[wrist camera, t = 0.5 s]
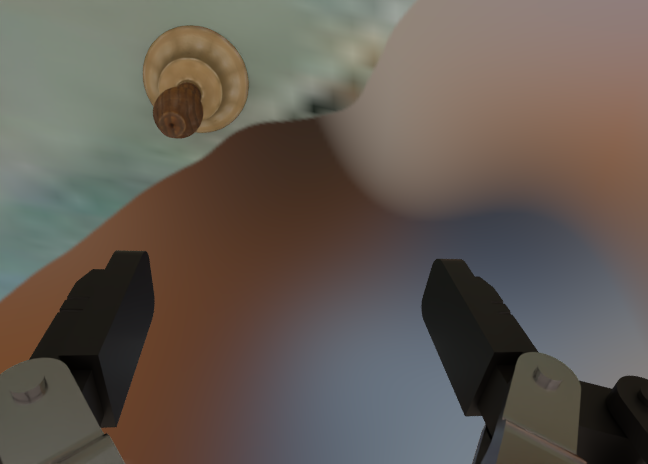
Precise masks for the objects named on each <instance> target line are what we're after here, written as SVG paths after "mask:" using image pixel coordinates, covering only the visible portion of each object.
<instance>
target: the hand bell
mask: <svg viewBox="0 0 648 464" xmlns="http://www.w3.org/2000/svg"><path fill="white" fill-rule="evenodd" d="M143 82H144V87H145V90H146V93H147V95H148V98H149V99H150V101H151V103H152V105H153V106H154V108H153V117H154V120H155V123H156V125H157V127H158V128H159V129H160V131H161V132H162V133H163V134H164V135H166V136H168V137H171V138H185V137H188V136H190V135H192V134H193V133H195V132H197V133H206V132H212V131H216V130H219V129H222V128H224V127H225V126H227V125H228V124H230V123H231V122H232V121H234V120H235V119H236V117H237V116H238V115H239V114H240V112H241V111H242V109H243V107H244V105H245V102H246V99H247V95H248V88H249V81H248V74H247V70H246V67H245V64H244V62H243V60H242V58H241V56H240V54H239V53H238V51H237V50H236V48H235V47H234V46H233V45H232V44H231V43H230V42H229V41H228V40H227V39H225V38H224V37H223V36H221V35H220V34H218V33H216V32H214V31H212V30H210V29H207V28H204V27H199V26H180V27H176V28H173V29H171V30H168V31H166V32H165V33H163V34H162V35H161V36H159V37H158V38H157V39H156V40H155V41H154V42H153V43H152V45H151V46H150V48H149V50H148V52H147V54H146V57H145V61H144V65H143Z"/></svg>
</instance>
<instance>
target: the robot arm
mask: <svg viewBox="0 0 648 464" xmlns="http://www.w3.org/2000/svg"><path fill="white" fill-rule="evenodd" d="M153 313H154V291H153V283H152V276H151V269H150V261H149V256H148V253H147V252H146V251H115V252H114V254H113V255H112V257H111V259H110V261H109V263H108V264H107V266H106V268H105V270H104V269H93V270H91V271H90V272H89V273H87V274H86V275H85V276H84V277H82V278H81V279H80V280H78V281H77V282H76V283H75V285H74V287H73V288H72V290H71V292H70V293H69V295H68V296H67V300H65V301H64V303H63V305H62V306H61V308H60V312H58V313H57V315H56V316H55V318H54V320H53V321H52V323H51V325H50V326H49V328H48V329H47V331H46V333H45V334H44V336H43V338H42V339H41V341H40V342H39V344H38V346H37V347H36V349H35V351H34V353H33V354H32V356H31V357H30V359H29V360H27V361H24V362H22V363H19V364H17V365H15V366H13V367H11V368H9V369H7V370H6V371H4V372H3V373H2V374H0V464H125V463H124V461H123V459H122V458H121V456H120V455H119V452H118V450H117V448H116V447H115V445H114V443H113V441H112V440H111V438H110V436H109V435H108V434H104V433H103V432H102V430H101V428H104V427H117V423H118V421H119V418H120V415H121V411H122V409H123V405H124V403H125V400H126V397H127V394H128V390H129V387H130V384H131V381H132V378H133V375H134V372H135V369H136V366H137V363H138V360H139V357H140V354H141V351H142V348H143V345H144V342H145V339H146V336H147V332H148V330H149V327H150V324H151V321H152V317H153ZM422 316H423V320H424V322H425V324H426V327H427V329H428V332H429V334H430V336H431V338H432V341H433V343H434V345H435V347H436V350H437V352H438V355H439V357H440V359H441V361H442V364H443V366H444V368H445V371H446V373H447V375H448V378H449V380H450V382H451V385H452V387H453V389H454V392H455V394H456V396H457V399H458V401H459V403H460V405H461V408H462V410H463V412H464V415H465V416H483V419H484V421H485V423H486V424H485V426H484V428H483V430H482V432H481V436H480V439H479V442H478V446H477V449H476V452H475V456H474V459H473V463H472V464H648V380H647V379H645V378H642V377H637V376H624V377H622V378H620V379H619V380H618V382H617V383H616V384H615V386H614V387H613V389H610V388H606V387H602V386H598V385H594V384H590V383H586V382H582V381H579V380H578V378H577V376H576V375H575V374H574V373H573V371H572V370H571V369H569V368H568V367H567V366H566V365H565V364H564V363H562V362H561V361H559V360H558V359H556V358H554V357H551V356H549V355H546V354H543V353H539V352H538V351H537V349H536V348H535V346H534V345H533V344H532V342H531V341H530V339H529V338H528V336H527V335H526V333H525V332H524V331H523V329H522V328H521V326H520V325H519V323H518V322H517V320H516V319H515V318H514V316H513V315H511V314H510V310H509V309H508V307H507V306H506V305H505V304H503V300H502V299H501V297H500V296H499V295H498V293H497V292H496V291H495V289H494V288H493V287H492V286H491V285H489V284H488V283H487V282H486V281H484V280H483V279H482V278H480V277H475V276H474V275H473V273H472V272H471V270H470V269H469V267H468V266H467V264H466V263H465V261H463V260H462V259H436V260H435V261H434V263H433V265H432V268H431V271H430V275H429V278H428V281H427V285H426V288H425V291H424V295H423V298H422Z"/></svg>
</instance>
